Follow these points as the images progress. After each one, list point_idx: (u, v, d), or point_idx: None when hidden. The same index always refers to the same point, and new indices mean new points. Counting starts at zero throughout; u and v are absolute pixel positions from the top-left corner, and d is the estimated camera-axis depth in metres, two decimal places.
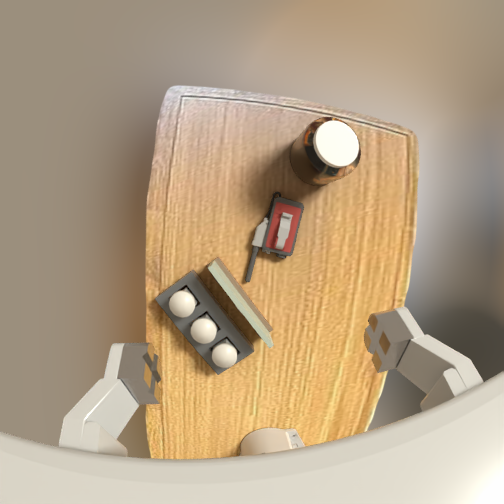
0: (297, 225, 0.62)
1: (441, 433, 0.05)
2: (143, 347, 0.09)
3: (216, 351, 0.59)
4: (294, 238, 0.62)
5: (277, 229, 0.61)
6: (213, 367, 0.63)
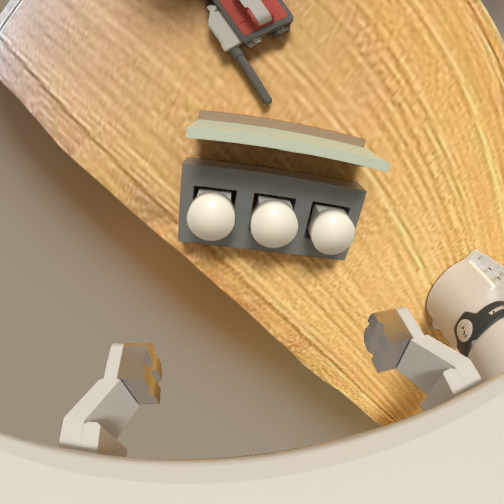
0: None
1: (441, 433, 0.05)
2: (143, 347, 0.09)
3: (316, 236, 0.34)
4: None
5: (238, 2, 0.23)
6: (331, 256, 0.39)
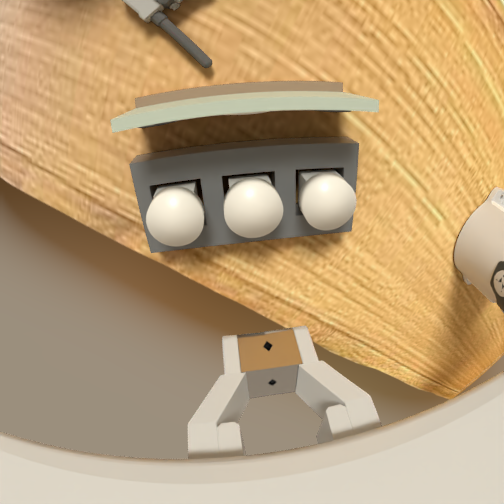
0: None
1: (441, 433, 0.05)
2: (260, 337, 0.10)
3: (308, 212, 0.27)
4: None
5: None
6: (334, 230, 0.32)
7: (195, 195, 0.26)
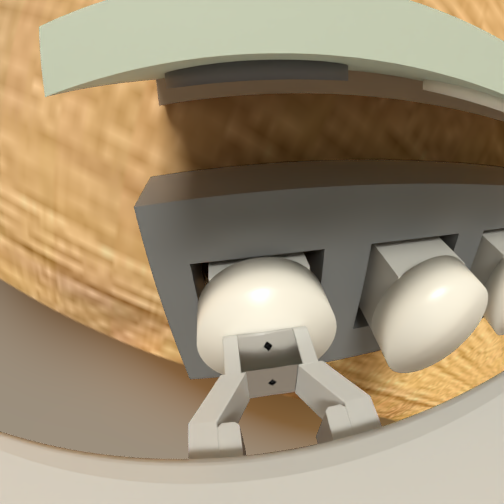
0: None
1: (441, 433, 0.05)
2: (261, 337, 0.10)
3: None
4: None
5: None
6: None
7: (315, 279, 0.11)
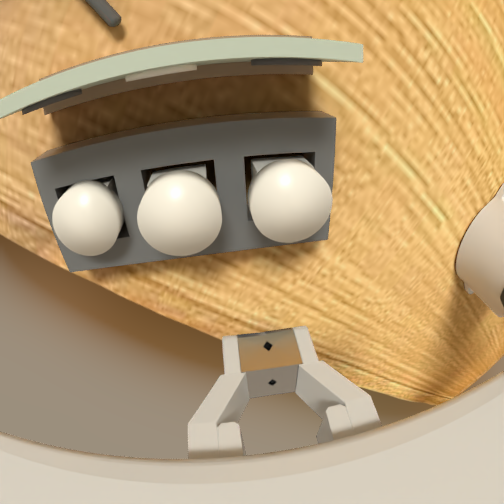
0: None
1: (441, 433, 0.05)
2: (260, 337, 0.10)
3: (260, 217, 0.18)
4: None
5: None
6: None
7: (109, 190, 0.19)
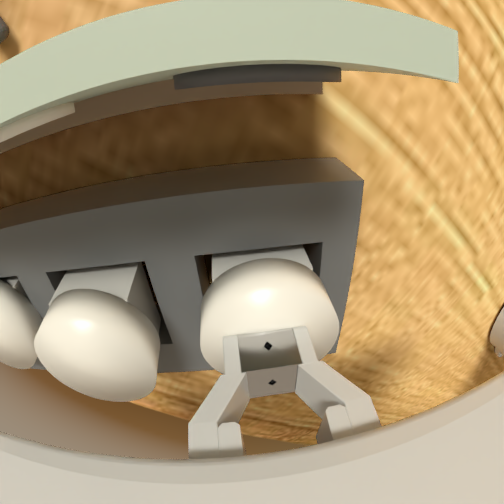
0: None
1: (441, 433, 0.05)
2: (261, 337, 0.10)
3: (216, 357, 0.11)
4: None
5: None
6: None
7: (15, 295, 0.11)
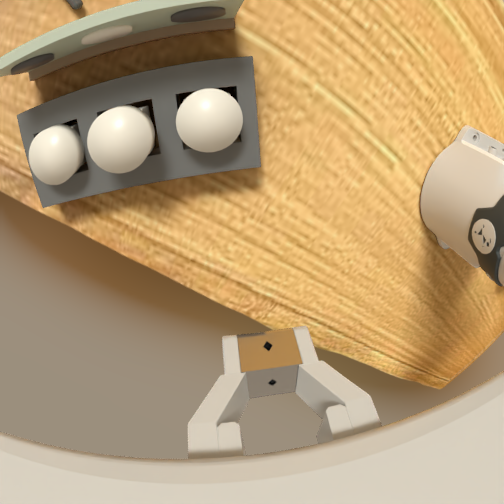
0: None
1: (441, 433, 0.05)
2: (261, 337, 0.10)
3: (183, 130, 0.22)
4: None
5: None
6: (236, 165, 0.26)
7: (72, 130, 0.21)
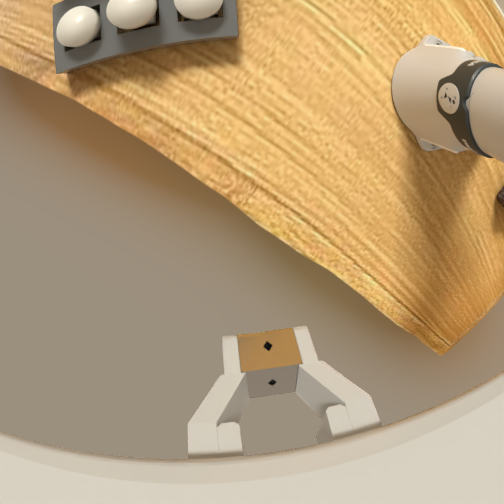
0: None
1: (441, 433, 0.05)
2: (260, 337, 0.10)
3: (178, 3, 0.22)
4: None
5: None
6: (218, 33, 0.26)
7: (95, 10, 0.21)
